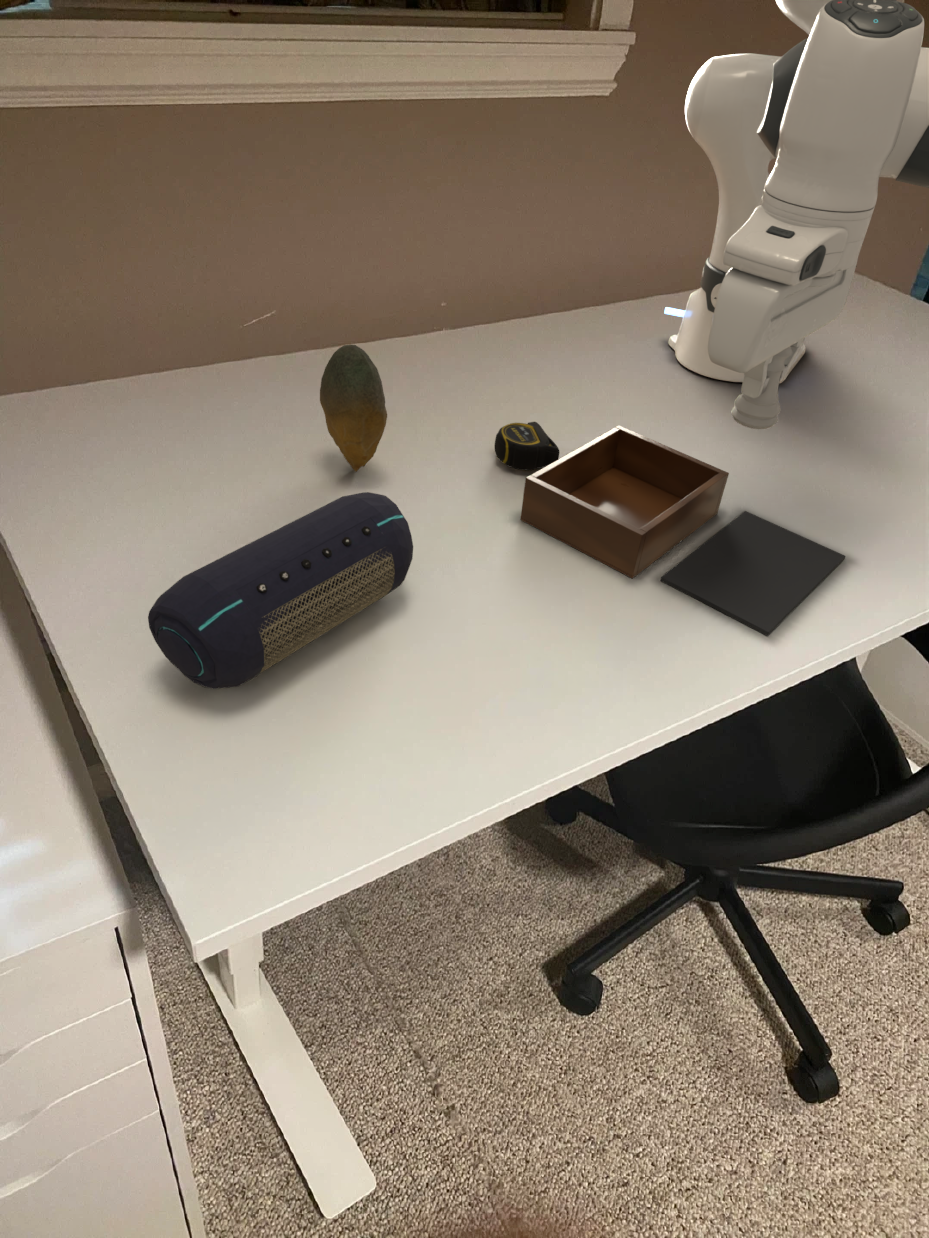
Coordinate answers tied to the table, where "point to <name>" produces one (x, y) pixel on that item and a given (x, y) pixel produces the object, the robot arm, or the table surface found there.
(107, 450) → the table surface
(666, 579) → the mat
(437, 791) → the table surface
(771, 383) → the rook chess piece
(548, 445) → the tape measure
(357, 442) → the green and yellow papaya
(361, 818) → the table surface
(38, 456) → the table surface
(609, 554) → the open wooden box
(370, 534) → the portable speaker
